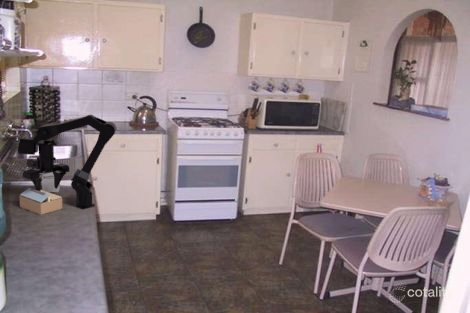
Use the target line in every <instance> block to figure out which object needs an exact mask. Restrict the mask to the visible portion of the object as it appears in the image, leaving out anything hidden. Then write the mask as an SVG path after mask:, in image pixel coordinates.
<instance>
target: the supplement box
mask: <svg viewBox="0 0 470 313" xmlns="http://www.w3.org/2000/svg"><path fill="white" fill-rule="evenodd" d="M55 164H60V162H59V163H58V162H56V163H55V162H54V165H55ZM60 188H61V183H60V184H59V186H58V188H57V189H55V186H54V175H53V172H51V173H46V174H42V175H41V190H43V191H46V192H49V193H59V192H60Z"/></svg>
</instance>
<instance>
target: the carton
mask: <svg viewBox="0 0 470 313" xmlns="http://www.w3.org/2000/svg"><path fill="white" fill-rule="evenodd" d="M40 191H41V192H44V193H46V194H49V195H50V196H49V197H48V198H46V199H45V200H44V201H43V202H41V203H40V202H37V201H35V200H32V199H29V198H26V197H24V196H21V195H19V208H20V207H21V209H22V208H24V209H23V210H25V209H26V210H25V211H27V210H29V211H28V212H30V211H32V212H31V213H33V212H35V213H38V214H45V213H49V212H52V213H54V212H53V211H56V212H58V211H57V210H59V211H61V210H60V209H62V210H63V198H62V196H60V195H58V194H54V193H53V192H46V191H43V190H42V189H41V190H40ZM35 213H34V214H35ZM38 214H37V215H38ZM49 214H50V213H49ZM45 215H46V214H45Z"/></svg>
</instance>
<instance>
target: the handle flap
mask: <svg viewBox="0 0 470 313" xmlns="http://www.w3.org/2000/svg"><path fill="white" fill-rule="evenodd" d="M19 196H24V197H26V198H29V199H32V200H35V201H37V202H40V203H41V202H43V201H44V200H45V199H46V198H48V197H49V196H50V195H49V194H46V193H44V192H41V191H38V190H36V188H31V187H28V188H26V190H24V191H23V192H21V193H20V194H19Z"/></svg>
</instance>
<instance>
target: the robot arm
mask: <svg viewBox="0 0 470 313" xmlns="http://www.w3.org/2000/svg"><path fill="white" fill-rule="evenodd" d="M86 126H89V127H91V128H93V129H94V130H96V131H97V132H99V134H98V137H97V141H96V142H95V144H94V146H93V148H92V150H91V152H90V154H89V155H88V158H87V159H86V161H85V163H84V165H83V166H82V168H81V169H79V168H77V169H76V171H75V172H74V175H73V177H72V178H71V179H70V181H71V183H70V186H71V188H72V189H73V190H74V191H75V193H76V194H75V195H76V199H75V202H76V203H75V204H73V207H76V208H79V209H82V210H85V208H86V209H89V208H92V207H94V206H96V204H95V203H93V192H92V189H93V187H94V185H93V184H92V183H91V182H90V181H89V179H90V176H91V173H92V172H91V171H92V170H93V168H94V166H95V164H96V163H97V161H98V159H99V157H100V155H101V154H102V152H103V149H104V148H105V146H106V145H107V144H108V142H109V141H110V140H111V139H112V137H114V135H115V133H116V131H117V126H116V124H115V123H114V122H112V121H107V120H104V119H102V118H99V117H98V116H97V117H96V116H94V115H93V114H87V115H85V116H81V117H78V118H75V119H71V120H67V121H63V122H61V123H60V122H59V123H58V122H57V123H47V124H44V125H41V126H40V127H39V128H37V130H36V135H35V136H34V137H33V138H28V137H27V138H26V137H20V138H19V143H18V147H17V152H18V155H31V156H33V155H36V153H38V156H37V157H36V160H34V159H33V158H31V159H27V160H26V167H27V168H30V169H25V170H23V172H22V177H23V178H24V179H27V180H29V181H31V182H32V183H33V185H34V189H35V190H38V191H40V190H42V177H40V176H42V174H46V173H51V172H53V175H54V186H55V189H57V188H58V186H59V184H60V185H61V182H62V180H63V178H64V176H65V175H67V173H69V172H70V166H69V165H68V164H66V163H60V162H59V163H60V164H55V165H54V163H55V161H56V160H57V159H56V157H55V156H54V155H55V154H54V153H55V152H54V147H55V146H57V145H59V141H57V140H56V138H54V137H56V136H58V135H60V134H62V133H65V132H69V131H72V130H76V129H80V128H83V127H86ZM51 139H52V140H51Z"/></svg>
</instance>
